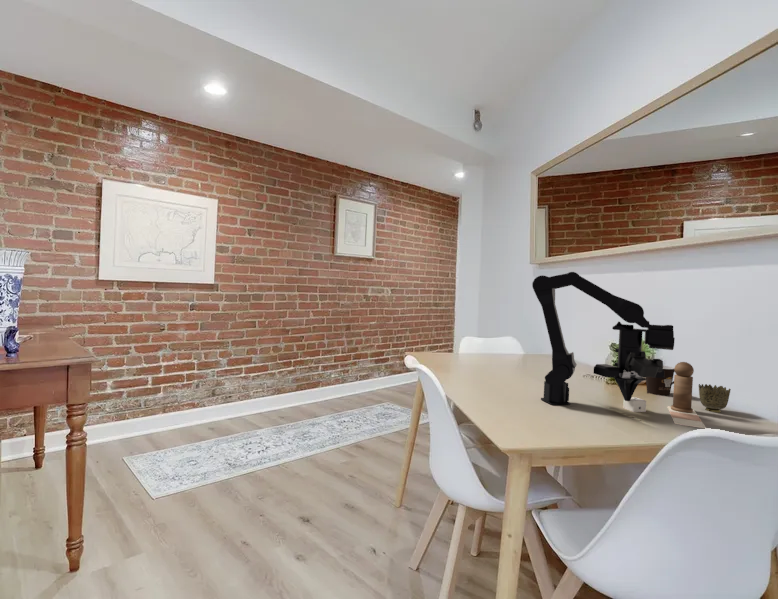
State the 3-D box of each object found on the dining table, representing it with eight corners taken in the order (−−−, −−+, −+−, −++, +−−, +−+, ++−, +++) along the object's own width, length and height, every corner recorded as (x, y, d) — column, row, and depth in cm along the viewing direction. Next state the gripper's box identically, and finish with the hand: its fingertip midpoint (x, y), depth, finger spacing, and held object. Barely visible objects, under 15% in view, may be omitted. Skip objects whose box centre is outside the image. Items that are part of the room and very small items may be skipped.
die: (633, 415, 119) (634, 400, 119) (623, 410, 123) (623, 397, 123) (645, 414, 120) (646, 400, 120) (635, 410, 124) (635, 397, 124)
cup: (734, 418, 119) (736, 390, 119) (705, 416, 121) (706, 388, 121) (719, 411, 127) (721, 384, 127) (692, 409, 128) (693, 382, 128)
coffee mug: (648, 397, 141) (650, 367, 141) (639, 391, 149) (641, 363, 149) (688, 401, 138) (689, 370, 138) (676, 394, 147) (678, 366, 147)
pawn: (681, 413, 120) (684, 363, 119) (666, 407, 125) (669, 360, 125) (697, 412, 121) (700, 363, 120) (681, 407, 126) (684, 360, 125)
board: (709, 432, 106) (710, 429, 106) (671, 426, 109) (671, 423, 109) (696, 412, 124) (696, 409, 124) (664, 408, 128) (664, 405, 128)
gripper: (621, 350, 111) (618, 409, 111) (682, 351, 114) (679, 408, 115) (593, 344, 122) (590, 398, 122) (649, 345, 125) (647, 397, 126)
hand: (627, 400), depth 121 cm, fingers closed
